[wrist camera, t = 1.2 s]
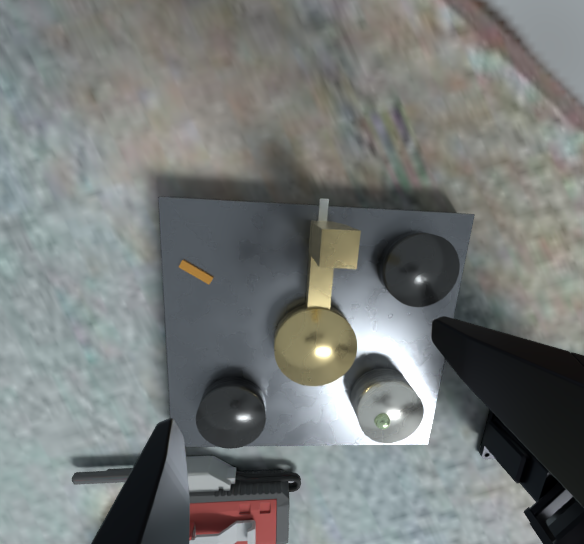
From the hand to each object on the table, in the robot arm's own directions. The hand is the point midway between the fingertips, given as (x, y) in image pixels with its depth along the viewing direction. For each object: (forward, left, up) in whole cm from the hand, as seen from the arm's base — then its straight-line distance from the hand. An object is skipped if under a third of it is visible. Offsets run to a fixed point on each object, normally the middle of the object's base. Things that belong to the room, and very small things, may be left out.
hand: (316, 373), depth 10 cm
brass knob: (-2, +2, -12) cm, 12 cm away
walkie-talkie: (+8, +22, -15) cm, 28 cm away
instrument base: (-2, +5, -14) cm, 15 cm away
